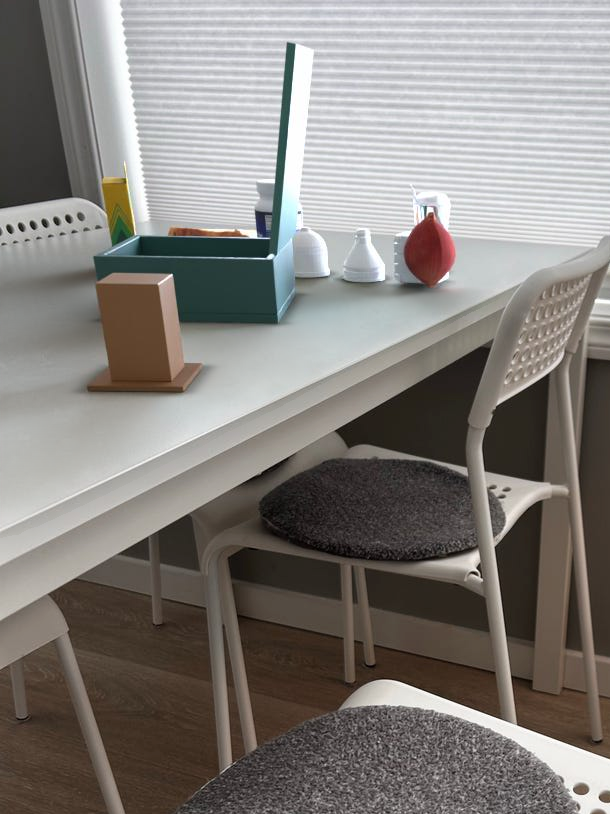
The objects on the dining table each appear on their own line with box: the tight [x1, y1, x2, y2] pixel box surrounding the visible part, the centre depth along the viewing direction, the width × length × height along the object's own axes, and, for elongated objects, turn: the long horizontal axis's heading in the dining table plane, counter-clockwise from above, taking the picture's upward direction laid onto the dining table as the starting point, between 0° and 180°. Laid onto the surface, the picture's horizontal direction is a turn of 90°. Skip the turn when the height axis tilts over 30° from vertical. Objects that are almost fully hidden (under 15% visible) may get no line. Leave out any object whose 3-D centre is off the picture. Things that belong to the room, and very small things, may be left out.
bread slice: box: [167, 226, 257, 238], centre depth 128 cm, size 18×18×4 cm
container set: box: [292, 226, 450, 284], centre depth 113 cm, size 20×5×6 cm, turn 73°
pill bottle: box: [254, 178, 304, 238], centre depth 116 cm, size 6×6×10 cm
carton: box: [94, 273, 185, 382], centre depth 71 cm, size 4×4×7 cm
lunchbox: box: [92, 234, 297, 324], centre depth 96 cm, size 17×15×6 cm
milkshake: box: [409, 184, 451, 232], centre depth 117 cm, size 4×5×10 cm
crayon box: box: [101, 160, 137, 247], centre depth 114 cm, size 7×3×12 cm, turn 18°
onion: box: [404, 212, 457, 288], centre depth 107 cm, size 6×6×8 cm
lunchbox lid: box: [269, 41, 314, 255], centre depth 91 cm, size 17×15×1 cm
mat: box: [86, 362, 203, 393], centre depth 73 cm, size 7×7×1 cm
